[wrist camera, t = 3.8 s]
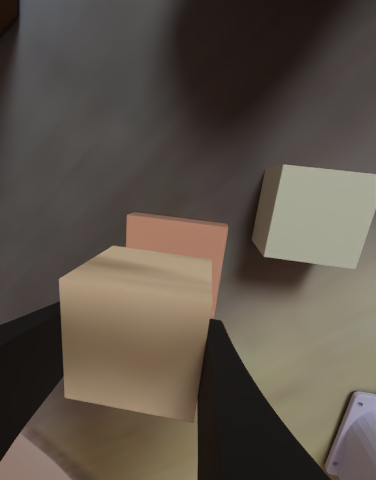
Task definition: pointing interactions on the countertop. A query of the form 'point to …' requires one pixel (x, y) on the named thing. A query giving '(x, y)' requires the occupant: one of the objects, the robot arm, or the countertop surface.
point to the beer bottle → (7, 13)
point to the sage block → (314, 215)
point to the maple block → (136, 330)
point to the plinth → (180, 240)
